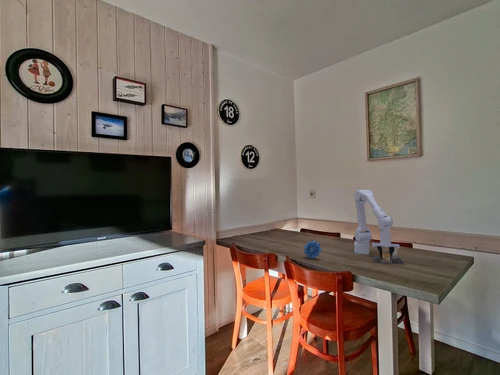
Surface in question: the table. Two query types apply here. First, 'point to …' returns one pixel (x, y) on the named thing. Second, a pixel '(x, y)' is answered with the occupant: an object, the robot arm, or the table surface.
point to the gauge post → (394, 254)
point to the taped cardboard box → (386, 256)
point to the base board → (386, 261)
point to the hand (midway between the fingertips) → (385, 259)
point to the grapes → (312, 249)
